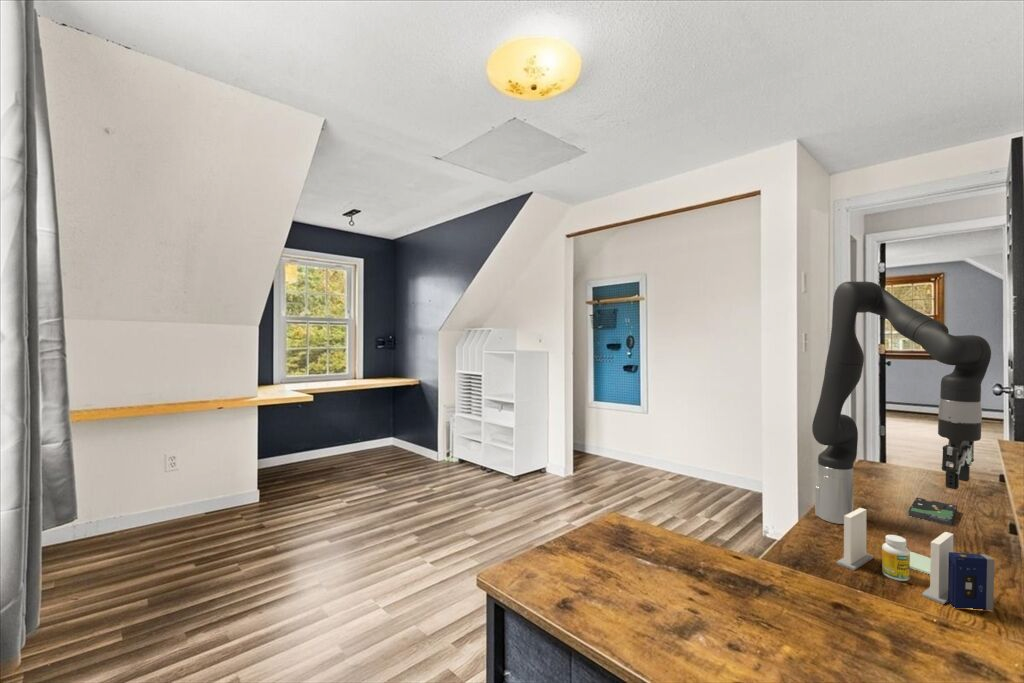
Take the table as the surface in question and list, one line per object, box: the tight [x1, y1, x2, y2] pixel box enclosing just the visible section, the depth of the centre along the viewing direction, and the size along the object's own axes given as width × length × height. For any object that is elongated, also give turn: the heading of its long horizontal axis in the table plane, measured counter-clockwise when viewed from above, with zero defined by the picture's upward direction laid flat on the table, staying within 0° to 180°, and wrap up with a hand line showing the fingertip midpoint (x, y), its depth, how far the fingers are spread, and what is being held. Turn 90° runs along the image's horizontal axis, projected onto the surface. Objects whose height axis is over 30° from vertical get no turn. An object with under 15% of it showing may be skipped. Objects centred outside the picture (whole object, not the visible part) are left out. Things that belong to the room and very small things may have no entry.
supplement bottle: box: [881, 534, 911, 582], centre depth 116 cm, size 5×5×10 cm
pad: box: [909, 550, 931, 576], centre depth 121 cm, size 9×9×1 cm
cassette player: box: [947, 551, 995, 612], centre depth 103 cm, size 7×2×12 cm, turn 78°
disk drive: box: [908, 497, 958, 527], centre depth 151 cm, size 10×3×15 cm
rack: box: [836, 507, 955, 605], centre depth 116 cm, size 22×11×13 cm, turn 32°
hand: (957, 484), depth 114 cm, fingers open, 8 cm apart
